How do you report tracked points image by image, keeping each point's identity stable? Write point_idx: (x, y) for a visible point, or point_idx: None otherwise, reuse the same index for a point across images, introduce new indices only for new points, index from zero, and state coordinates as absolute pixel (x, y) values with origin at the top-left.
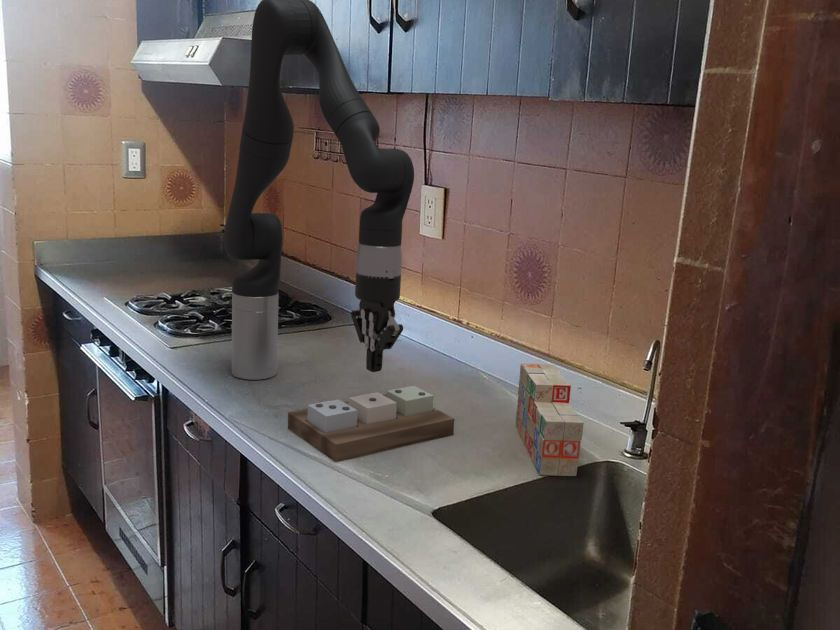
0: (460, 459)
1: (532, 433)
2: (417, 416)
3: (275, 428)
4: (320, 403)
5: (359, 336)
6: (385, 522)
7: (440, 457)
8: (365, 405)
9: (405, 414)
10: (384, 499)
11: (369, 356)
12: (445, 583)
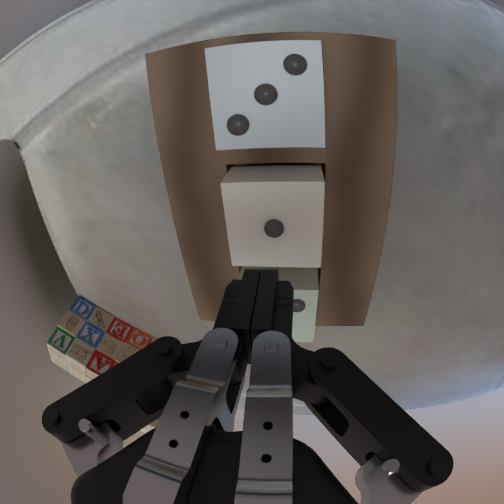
0: (122, 254)
1: (111, 343)
2: (230, 281)
3: (393, 25)
4: (315, 78)
5: (345, 372)
6: (11, 85)
7: (133, 235)
8: (243, 189)
9: (241, 267)
10: (42, 97)
11: (250, 308)
12: None
